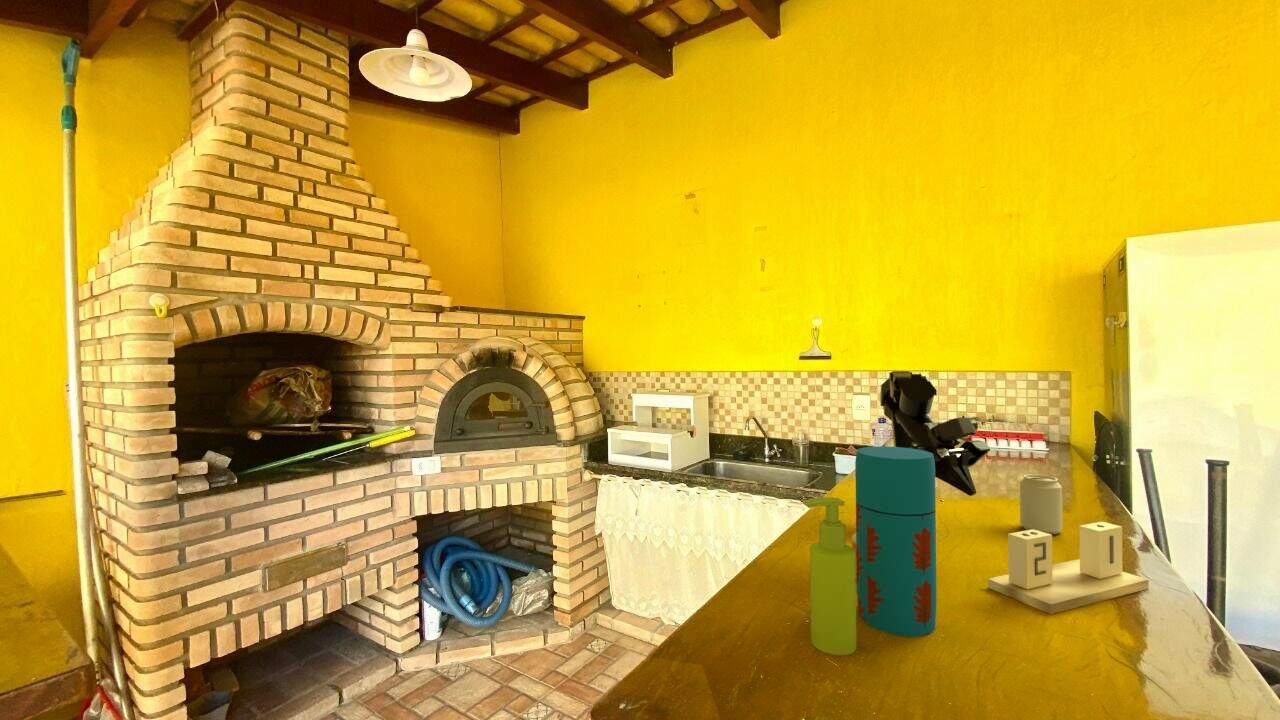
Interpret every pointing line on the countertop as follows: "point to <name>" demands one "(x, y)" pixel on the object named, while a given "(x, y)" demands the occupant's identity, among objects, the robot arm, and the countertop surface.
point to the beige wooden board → (1070, 588)
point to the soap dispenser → (832, 583)
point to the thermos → (896, 539)
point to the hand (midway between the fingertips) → (973, 494)
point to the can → (1041, 503)
